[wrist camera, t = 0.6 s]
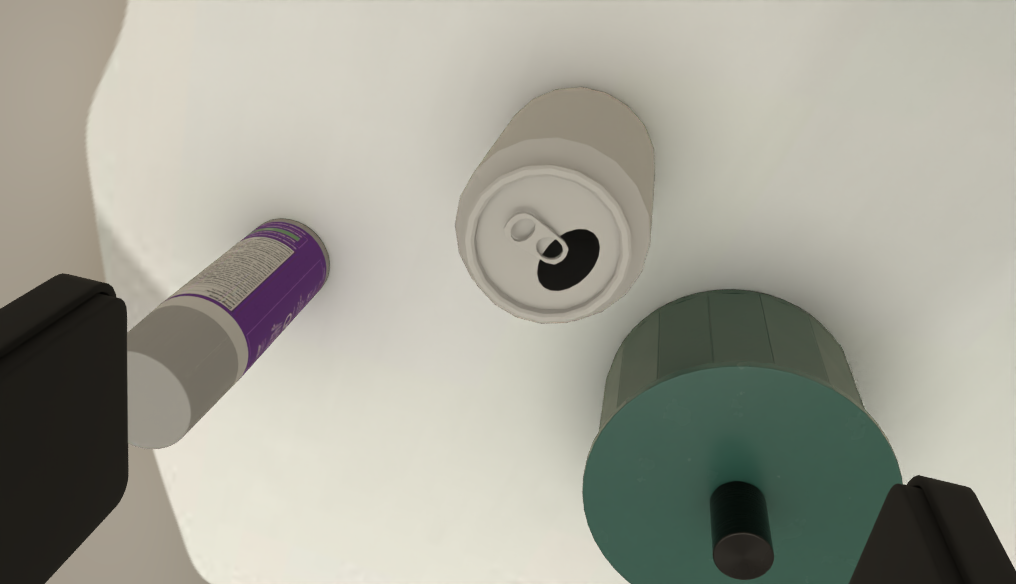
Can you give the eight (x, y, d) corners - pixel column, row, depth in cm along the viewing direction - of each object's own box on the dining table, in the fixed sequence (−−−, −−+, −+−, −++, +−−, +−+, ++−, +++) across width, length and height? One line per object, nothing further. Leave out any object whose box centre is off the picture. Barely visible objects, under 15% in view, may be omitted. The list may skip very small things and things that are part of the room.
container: (326, 307, 49) (192, 464, 35) (245, 287, 49) (82, 436, 36) (333, 229, 47) (195, 364, 33) (249, 209, 47) (79, 334, 34)
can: (586, 262, 45) (558, 378, 34) (471, 168, 44) (406, 256, 33) (688, 153, 42) (693, 243, 31) (568, 49, 41) (529, 104, 30)
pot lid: (542, 540, 43) (528, 609, 39) (656, 306, 37) (653, 358, 33) (805, 645, 43) (819, 726, 39) (961, 427, 37) (997, 495, 33)
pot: (572, 445, 50) (554, 545, 42) (664, 252, 44) (662, 326, 37) (782, 528, 50) (802, 644, 42) (900, 345, 44) (947, 440, 36)
